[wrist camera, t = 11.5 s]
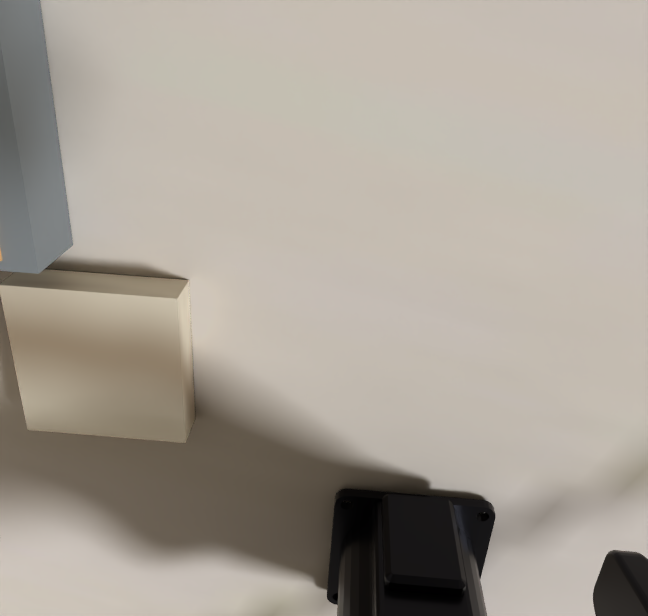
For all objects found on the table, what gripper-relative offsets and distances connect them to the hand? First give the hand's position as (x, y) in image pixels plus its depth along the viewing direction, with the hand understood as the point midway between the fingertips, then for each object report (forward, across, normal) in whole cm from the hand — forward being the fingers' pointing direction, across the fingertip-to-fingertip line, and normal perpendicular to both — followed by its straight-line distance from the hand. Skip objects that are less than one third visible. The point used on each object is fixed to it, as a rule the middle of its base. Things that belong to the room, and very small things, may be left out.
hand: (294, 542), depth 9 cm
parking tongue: (+13, +8, +5) cm, 16 cm away
